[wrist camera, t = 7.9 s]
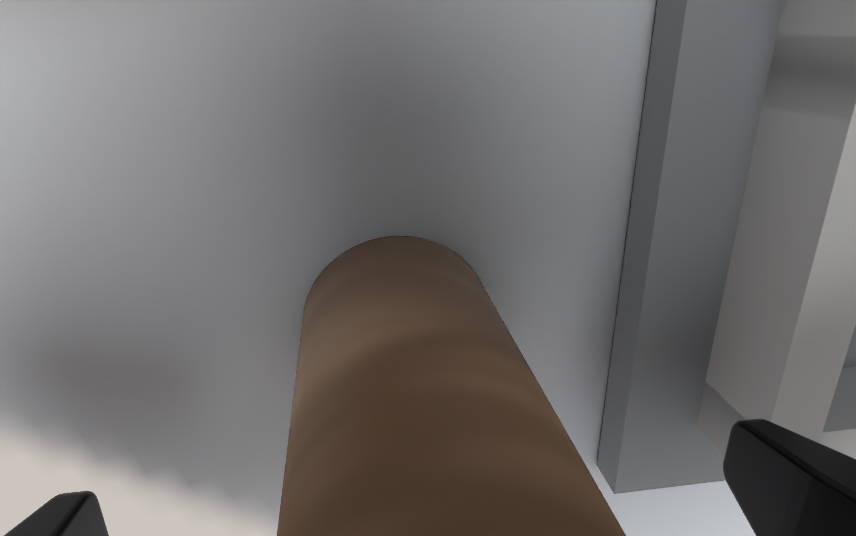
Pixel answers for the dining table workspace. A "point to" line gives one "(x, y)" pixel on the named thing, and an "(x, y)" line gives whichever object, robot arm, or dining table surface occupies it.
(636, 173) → the dock
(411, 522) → the peg
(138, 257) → the dining table surface
